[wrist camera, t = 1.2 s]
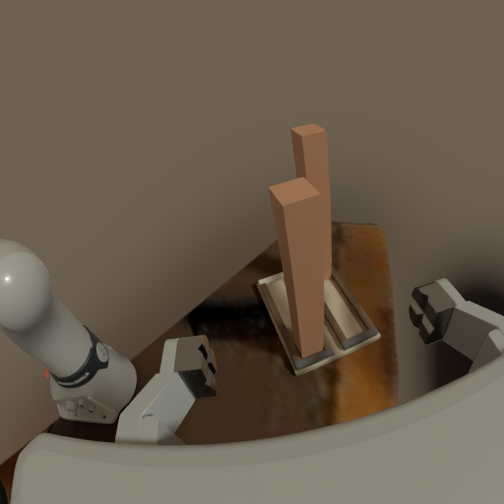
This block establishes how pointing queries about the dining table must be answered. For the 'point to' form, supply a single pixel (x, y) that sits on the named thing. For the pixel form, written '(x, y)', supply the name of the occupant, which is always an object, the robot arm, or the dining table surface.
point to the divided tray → (335, 321)
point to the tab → (301, 259)
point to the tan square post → (315, 176)
